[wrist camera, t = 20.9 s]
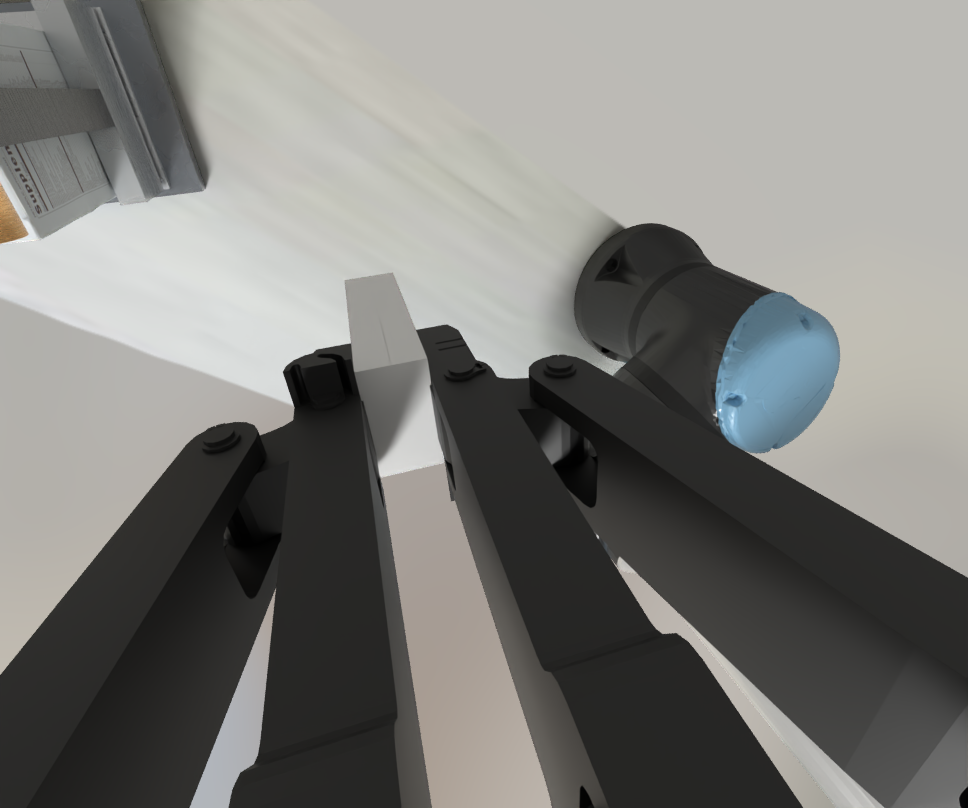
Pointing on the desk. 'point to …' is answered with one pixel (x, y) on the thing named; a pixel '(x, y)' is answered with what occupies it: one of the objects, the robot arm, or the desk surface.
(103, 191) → the supplement box
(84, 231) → the desk surface
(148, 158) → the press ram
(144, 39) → the press bed
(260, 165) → the desk surface
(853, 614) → the robot arm
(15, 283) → the desk surface
